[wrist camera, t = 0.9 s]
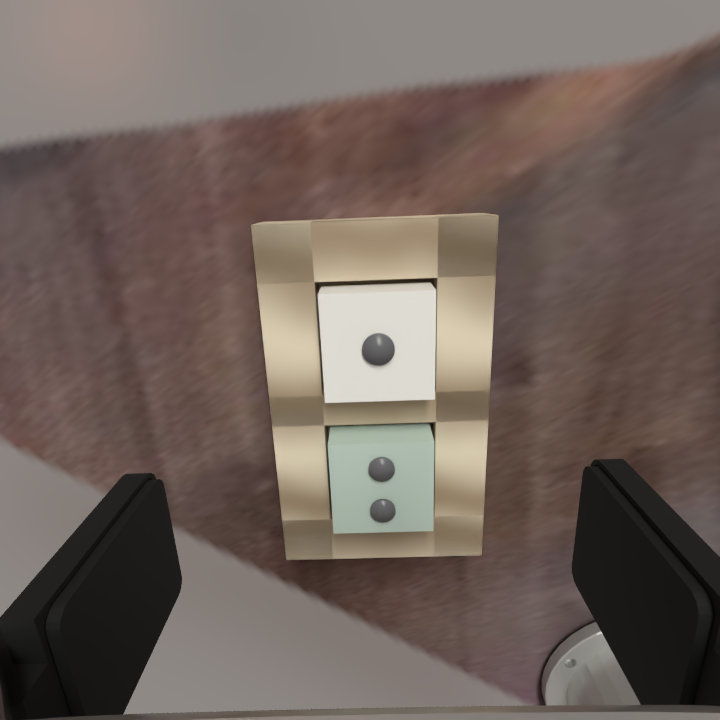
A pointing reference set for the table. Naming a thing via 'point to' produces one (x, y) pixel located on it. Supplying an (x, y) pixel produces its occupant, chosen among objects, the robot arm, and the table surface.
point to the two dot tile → (381, 478)
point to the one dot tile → (378, 342)
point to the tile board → (314, 417)
